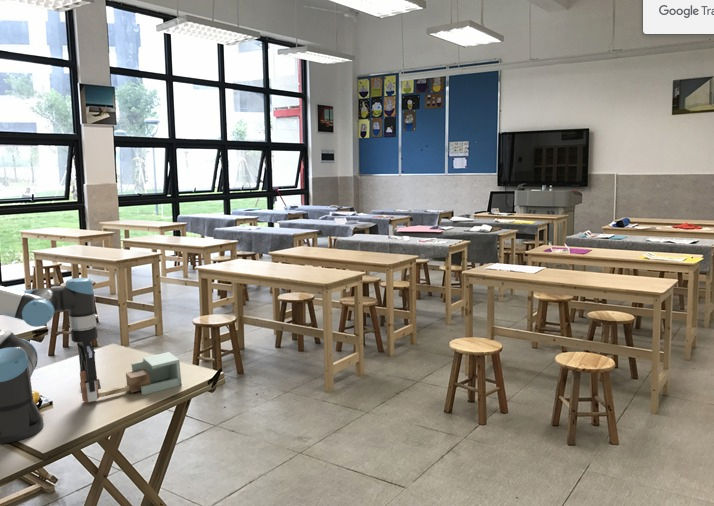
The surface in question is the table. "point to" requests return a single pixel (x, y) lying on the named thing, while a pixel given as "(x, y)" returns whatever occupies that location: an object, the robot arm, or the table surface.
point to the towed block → (133, 384)
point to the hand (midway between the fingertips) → (90, 397)
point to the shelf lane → (160, 371)
